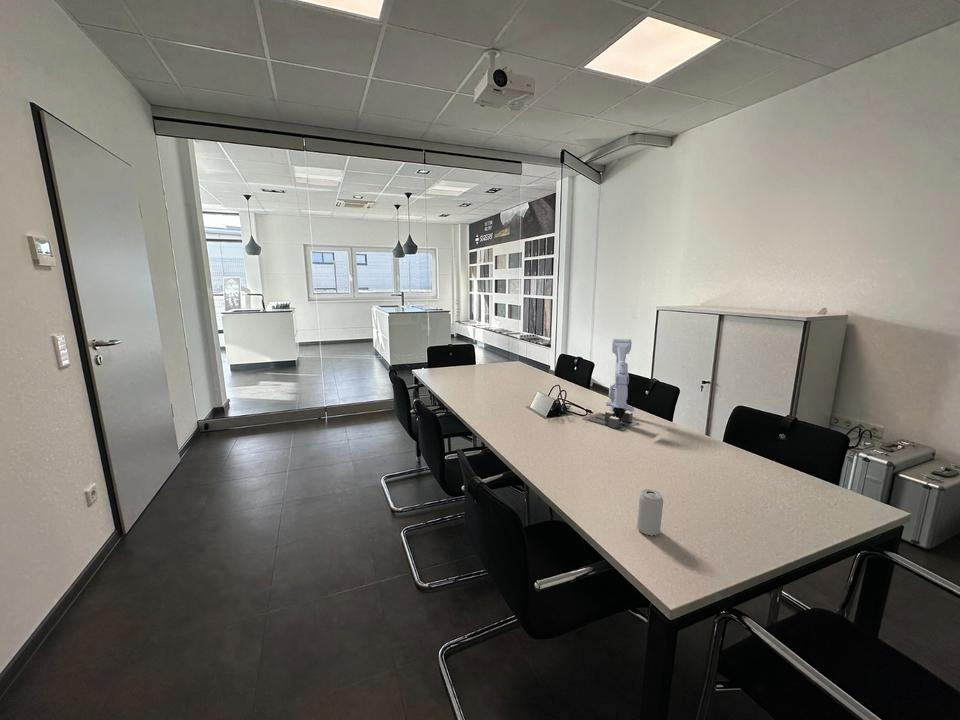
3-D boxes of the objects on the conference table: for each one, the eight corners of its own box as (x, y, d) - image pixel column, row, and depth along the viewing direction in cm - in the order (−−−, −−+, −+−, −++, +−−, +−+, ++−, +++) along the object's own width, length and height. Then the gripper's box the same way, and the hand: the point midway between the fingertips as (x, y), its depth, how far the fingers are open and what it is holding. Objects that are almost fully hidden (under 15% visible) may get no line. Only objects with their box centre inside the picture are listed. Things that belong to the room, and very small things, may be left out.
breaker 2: (624, 418, 214) (625, 410, 213) (632, 420, 211) (632, 412, 210) (621, 420, 212) (622, 411, 211) (628, 422, 209) (629, 413, 208)
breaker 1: (611, 424, 205) (612, 415, 204) (619, 426, 202) (619, 417, 201) (608, 426, 202) (608, 417, 202) (615, 428, 199) (616, 419, 199)
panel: (599, 415, 226) (599, 412, 226) (639, 425, 209) (639, 422, 209) (581, 421, 214) (581, 419, 214) (622, 433, 197) (623, 430, 197)
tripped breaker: (608, 418, 214) (608, 410, 213) (615, 420, 211) (615, 412, 210) (604, 420, 211) (605, 411, 211) (611, 422, 208) (612, 413, 208)
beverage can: (653, 524, 121) (657, 488, 119) (664, 537, 115) (667, 499, 113) (633, 524, 121) (636, 488, 119) (642, 537, 115) (645, 499, 112)
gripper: (603, 395, 207) (602, 419, 210) (630, 401, 197) (628, 427, 199) (610, 392, 212) (609, 417, 215) (636, 398, 202) (634, 423, 204)
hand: (618, 421), depth 207 cm, fingers closed
